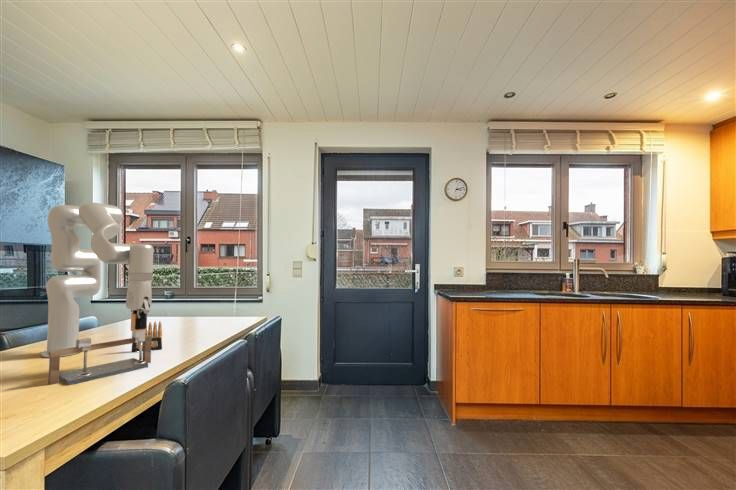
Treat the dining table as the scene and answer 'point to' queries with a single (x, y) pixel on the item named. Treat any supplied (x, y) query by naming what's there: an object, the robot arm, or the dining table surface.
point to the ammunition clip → (156, 338)
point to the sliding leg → (137, 333)
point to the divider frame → (85, 346)
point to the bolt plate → (101, 371)
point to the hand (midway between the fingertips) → (138, 327)
